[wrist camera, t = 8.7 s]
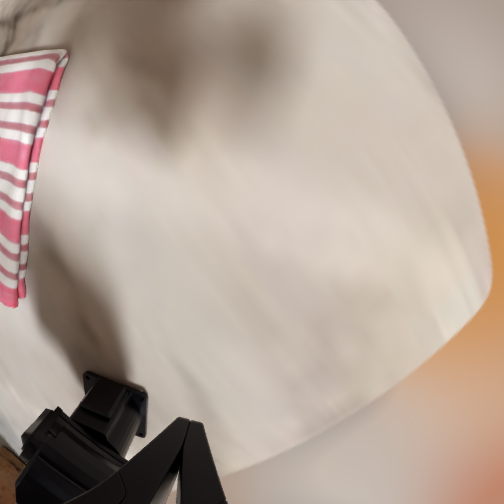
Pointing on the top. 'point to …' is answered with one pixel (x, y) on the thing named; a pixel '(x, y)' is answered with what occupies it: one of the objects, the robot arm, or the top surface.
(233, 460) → the top surface
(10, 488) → the block
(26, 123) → the dish towel
